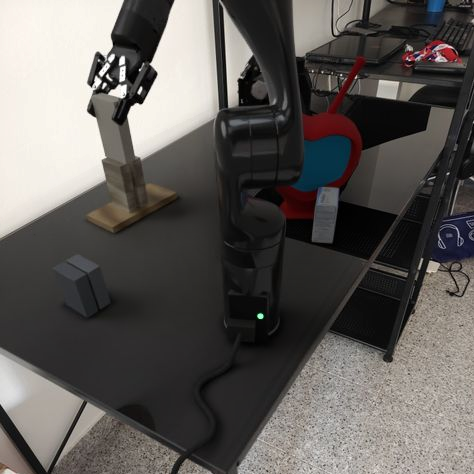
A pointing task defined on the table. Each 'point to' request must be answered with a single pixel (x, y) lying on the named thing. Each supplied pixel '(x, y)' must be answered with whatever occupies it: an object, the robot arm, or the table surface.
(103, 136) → the cream book
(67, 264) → the grey books
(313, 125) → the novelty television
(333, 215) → the medicine box
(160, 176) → the table surface
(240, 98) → the typewriter
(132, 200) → the rack
